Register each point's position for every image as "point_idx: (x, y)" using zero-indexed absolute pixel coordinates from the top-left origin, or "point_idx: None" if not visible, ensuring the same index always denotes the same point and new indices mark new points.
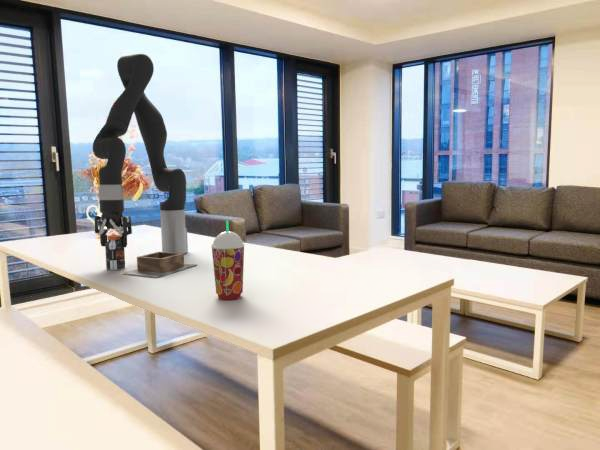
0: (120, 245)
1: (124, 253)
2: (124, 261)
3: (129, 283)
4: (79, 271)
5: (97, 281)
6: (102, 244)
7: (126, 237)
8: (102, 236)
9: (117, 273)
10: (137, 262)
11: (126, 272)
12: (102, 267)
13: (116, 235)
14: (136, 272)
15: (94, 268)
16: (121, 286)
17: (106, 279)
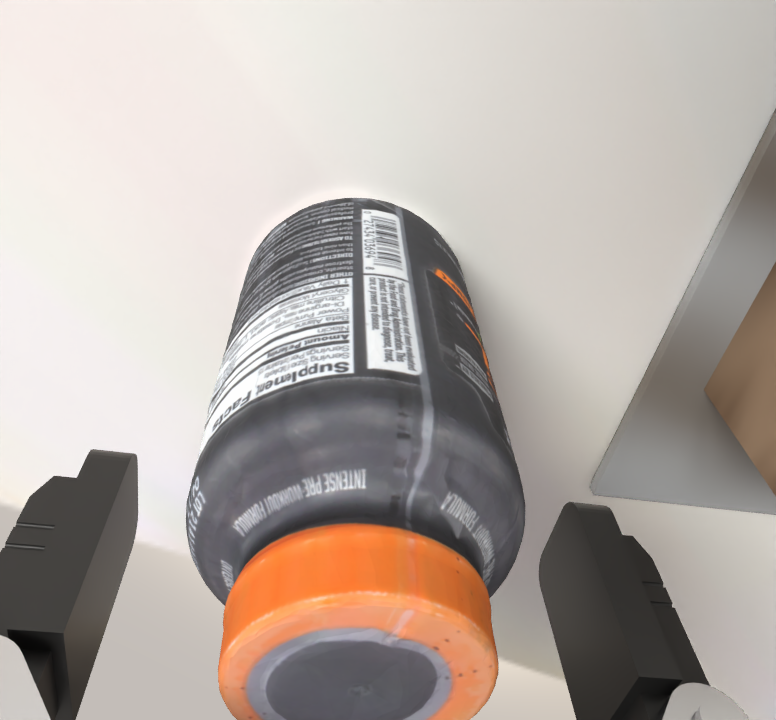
0: (555, 603)
1: (477, 345)
2: (473, 311)
3: (763, 649)
4: (69, 473)
5: (507, 654)
6: (124, 559)
7: (699, 682)
8: (78, 701)
9: (517, 466)
10: (749, 450)
11: (619, 470)
12: (134, 274)
13: (420, 689)
14: (722, 453)
15: (88, 338)
16: (735, 695)
17: (540, 613)
